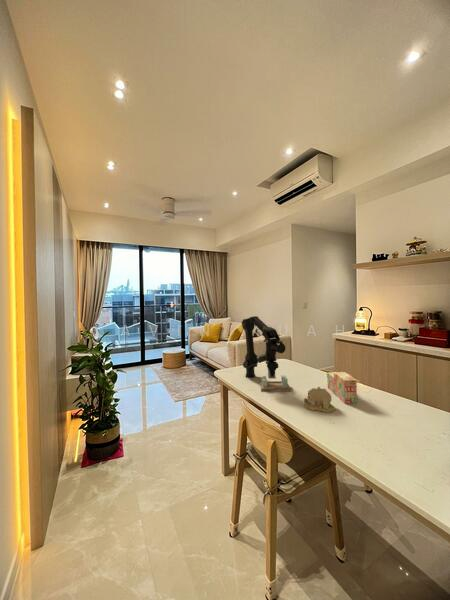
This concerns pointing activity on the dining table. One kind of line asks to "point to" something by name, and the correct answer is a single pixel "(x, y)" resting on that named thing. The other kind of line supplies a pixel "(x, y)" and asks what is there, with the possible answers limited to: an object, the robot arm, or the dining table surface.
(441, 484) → the dining table surface
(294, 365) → the dining table surface
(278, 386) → the vise base
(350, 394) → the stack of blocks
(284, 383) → the sliding jaw
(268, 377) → the block
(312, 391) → the ceramic model
